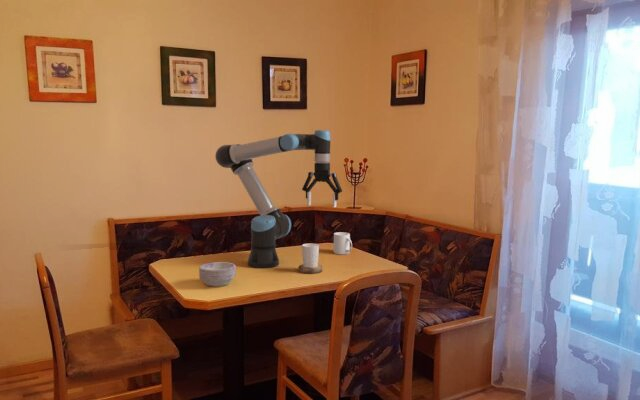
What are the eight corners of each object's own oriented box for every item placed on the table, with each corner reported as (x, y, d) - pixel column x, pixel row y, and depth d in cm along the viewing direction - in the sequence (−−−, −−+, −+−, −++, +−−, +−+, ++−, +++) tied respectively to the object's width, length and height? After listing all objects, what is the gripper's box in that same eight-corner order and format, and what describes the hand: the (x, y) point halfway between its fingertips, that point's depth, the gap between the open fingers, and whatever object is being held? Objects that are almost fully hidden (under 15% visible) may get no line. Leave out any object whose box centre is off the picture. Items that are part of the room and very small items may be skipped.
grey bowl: (206, 278, 227) (205, 260, 226) (239, 279, 226) (239, 261, 225) (194, 288, 212) (193, 269, 211) (230, 289, 211) (230, 270, 210)
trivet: (301, 274, 235) (301, 269, 234) (296, 268, 245) (296, 263, 245) (324, 273, 237) (324, 268, 237) (319, 267, 248) (319, 262, 248)
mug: (345, 257, 270) (346, 236, 268) (330, 252, 279) (330, 233, 277) (357, 254, 275) (357, 234, 274) (341, 250, 284) (342, 231, 283)
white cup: (299, 264, 243) (299, 244, 242) (314, 263, 246) (315, 242, 245) (305, 268, 236) (305, 247, 235) (321, 267, 239) (321, 246, 238)
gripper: (349, 162, 247) (348, 206, 249) (302, 161, 257) (302, 203, 259) (343, 163, 240) (342, 208, 243) (295, 162, 250) (295, 205, 253)
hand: (321, 206), depth 251 cm, fingers open, 13 cm apart
